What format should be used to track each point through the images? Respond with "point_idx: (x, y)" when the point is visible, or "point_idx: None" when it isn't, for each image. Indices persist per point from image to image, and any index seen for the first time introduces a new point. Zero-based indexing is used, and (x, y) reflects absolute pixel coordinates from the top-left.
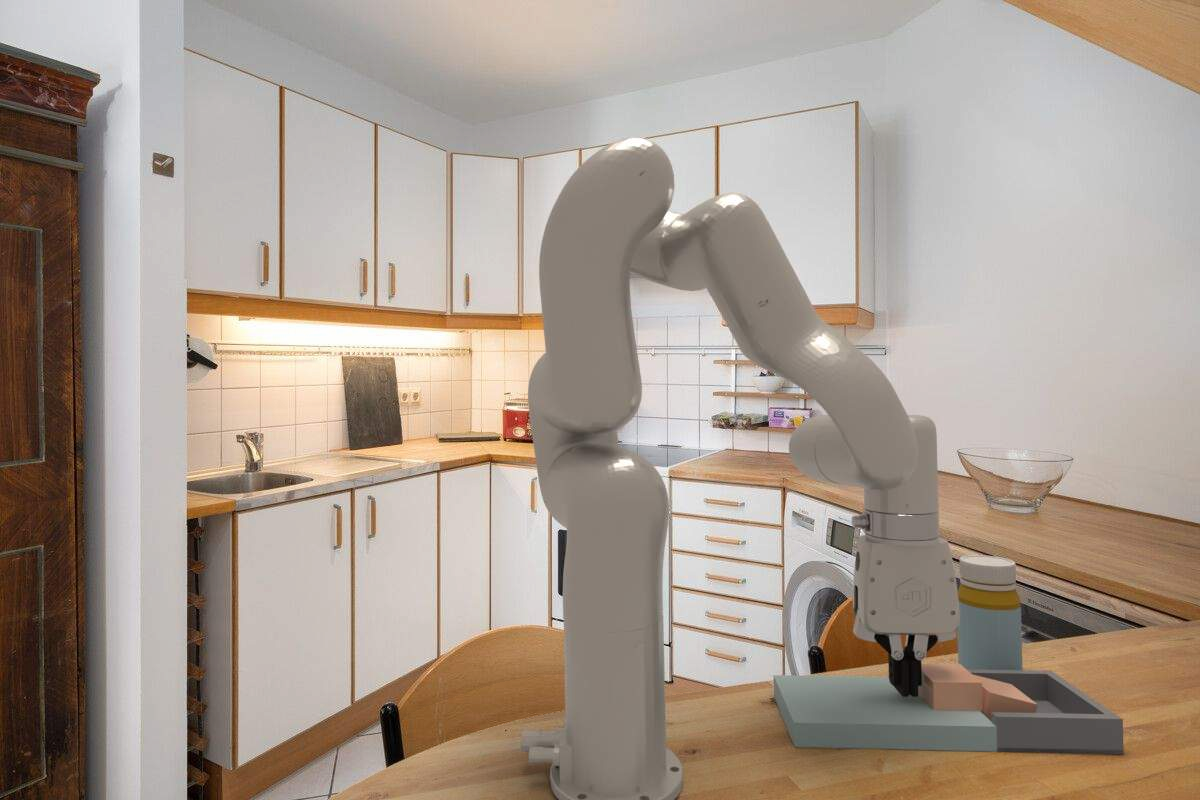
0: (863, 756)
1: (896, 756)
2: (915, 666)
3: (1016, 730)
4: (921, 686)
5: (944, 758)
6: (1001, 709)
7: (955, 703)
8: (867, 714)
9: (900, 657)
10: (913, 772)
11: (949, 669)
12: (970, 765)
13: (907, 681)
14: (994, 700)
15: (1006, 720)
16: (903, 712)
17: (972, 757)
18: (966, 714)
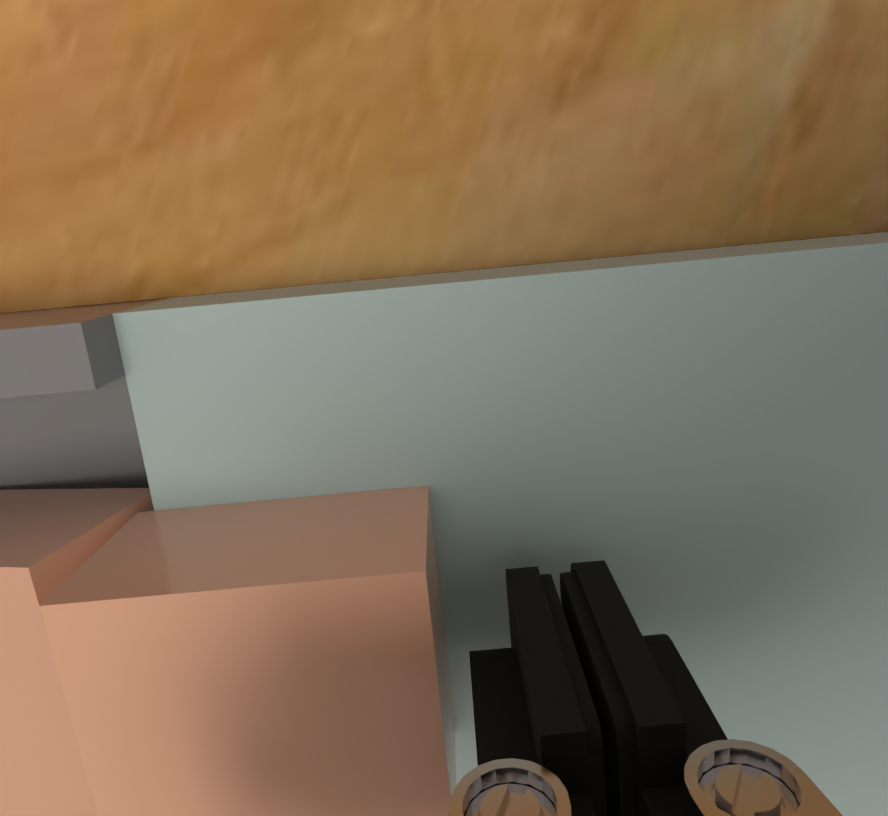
0: (878, 151)
1: (702, 176)
2: (551, 700)
3: (6, 321)
4: (447, 691)
5: (459, 190)
6: (21, 524)
7: (289, 513)
8: (862, 376)
9: (700, 771)
10: (671, 9)
11: (228, 810)
12: (348, 132)
13: (597, 613)
14: (29, 542)
15: (28, 325)
16: (624, 434)
17: (312, 221)
18: (247, 458)
